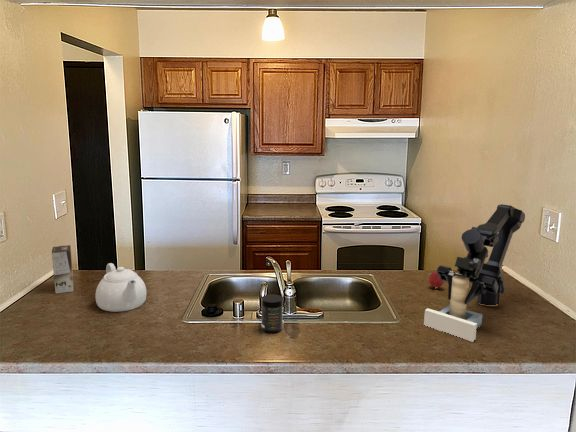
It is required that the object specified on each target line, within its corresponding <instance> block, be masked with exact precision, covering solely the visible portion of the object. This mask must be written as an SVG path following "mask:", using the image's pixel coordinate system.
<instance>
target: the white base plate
mask: <svg viewBox="0 0 576 432" xmlns="http://www.w3.org/2000/svg"><path fill="white" fill-rule="evenodd" d="M424 325H425V326H424ZM423 326H424V327H427V326H428V327H427V328H430V327H431V329H433V328H434V329H433V330H437V331H439V332H442V331H443V332H442V333H444V332H446V333H445V334H447V333H449V334H448V335H450V334H451V336H453V335H454V337H456V336H457V338H459V337H460V338H459V339H462V338H463V340H466V341H469V342H470V343H473V342H474V340H475V341H476V338H477V330H478V329H477V323H474V322H471V321H467V320H464V319H461V318H458V317H455V316H451V315H448V314H445V313H442V312H439V311H437V310H434V309H431V308H428V307H427V308H426V309H425V310H424V318H423ZM476 329H477V330H476Z"/></svg>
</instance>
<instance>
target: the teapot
mask: <svg viewBox="0 0 576 432" xmlns="http://www.w3.org/2000/svg"><path fill="white" fill-rule="evenodd" d="M105 272H106V273H105V274H104V276H103V278H102V279H101V280H100V281H99V283H98V285H97V287H96V290H95V302H96V305H97V307H98V308H99V309H101V310H103V311H106V312H113V313H115V312H117V313H119V312H127V311H133V310H135V309H137V308H139V307H141V306H142V305H144V303H145V302H146V299H147V286H146V284H145V282H144V280H143V279H142V277H140V276H139V275H138V273H137V272H135V271H133V270H131V269H129V268H125V267H123V266H119V267H117V268H116V266H115V264H114V263H112V262H110V263H109V262H108V263H107V264H106V268H105Z"/></svg>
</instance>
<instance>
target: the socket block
mask: <svg viewBox="0 0 576 432" xmlns="http://www.w3.org/2000/svg"><path fill="white" fill-rule="evenodd" d="M449 311H450V304H449V305H447V306H445V307H444V308H442V309H441V310H440V311H438V312H442V313H445V314H448V315H449ZM465 320H467V321H471V322H474V323H477V328H478V327H479V328H481V327H482V323H483V314H482V313H479V312H475V311H472V310H469V309H466V319H465ZM480 326H481V327H480ZM479 328H478V329H479Z"/></svg>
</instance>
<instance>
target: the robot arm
mask: <svg viewBox="0 0 576 432" xmlns="http://www.w3.org/2000/svg"><path fill="white" fill-rule="evenodd" d="M525 220H526V214H525V212H524V211H523V210H522V209H518V208H516V207H514V206H512V205H510V204H503V203H501V204H498V205H497V207H496V210H495V211H494V213H492V215H490V218H489V219H488V220H487V221H486V222H485V223H482V224H479V225H478V226H472V227H471V228H470V229H467V230H465V231H464V232H463V233H462V234H461V241H462V243H463V245H464V248H465V250H466V252H467V254H466V256H465V257H462V256H461V257H460V256H457V257H456V259H455V263H454V267H457V268H456V270H457V272H455V271H454V270H452V267H449V266H446V265H442V264H441V265H439V266H438V267H437V268H436V270H435V271H436V272H437V274H438V276H439V278H440V279H441V280H444V282H447V284H448V292H447V299H448V300H449V301H450V300H451V289H452V278H453V276H465V277H467V278H469V284H470V283H471V287H470V289H469V290H468V295H467V297H466V300H465V304H467V305H468V304H469V303H470V302H471V301H473V300H474V299H476V298H477V299H476V303H477V302H478V303H480V304H485V305H496V304H500V298H501V296H500V295H501V294H505V290H506V283H505V280H504V274H503V271H502V265H503V262H504V260H505V258H506V254H507V251H508V249H509V246H510V243H511V240H512V237H513V234H514V233H516V232H517V231H518V230H520V229H521V226H522V224H523V223H524V222H525ZM487 247H489V248H492V250H491V252H490V255H489V249H488V248H487ZM488 257H489V258H488ZM487 258H488V261H486V259H487ZM485 261H486V262H485ZM478 303H477V304H478Z"/></svg>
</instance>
